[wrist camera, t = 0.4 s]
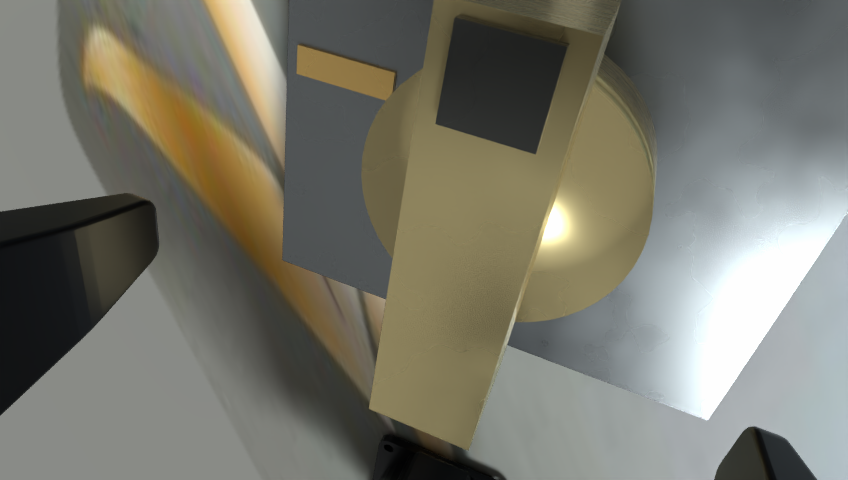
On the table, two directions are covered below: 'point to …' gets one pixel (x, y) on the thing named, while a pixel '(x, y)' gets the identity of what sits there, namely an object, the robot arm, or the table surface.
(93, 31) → the table surface
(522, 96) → the brass lock knob
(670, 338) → the lock base
